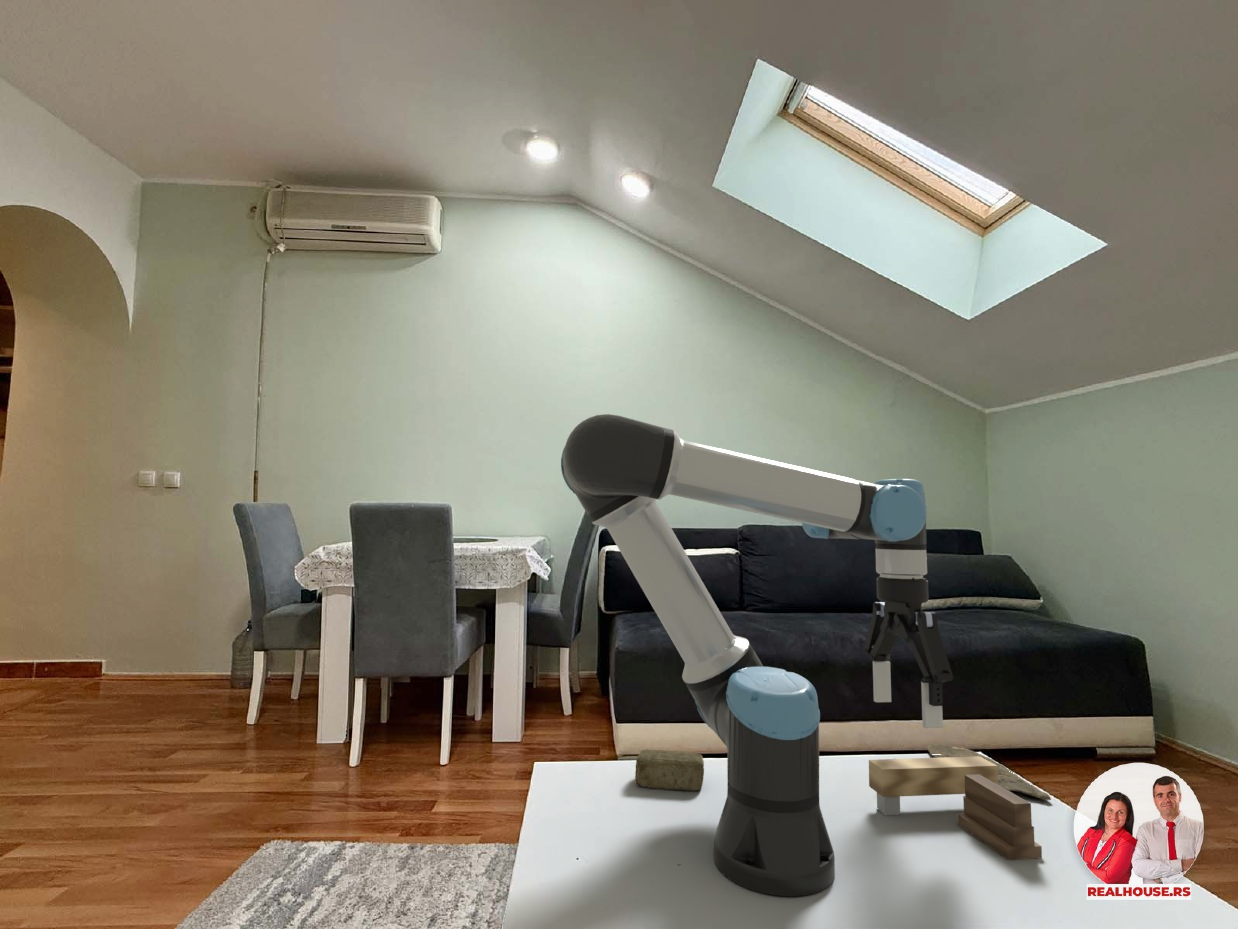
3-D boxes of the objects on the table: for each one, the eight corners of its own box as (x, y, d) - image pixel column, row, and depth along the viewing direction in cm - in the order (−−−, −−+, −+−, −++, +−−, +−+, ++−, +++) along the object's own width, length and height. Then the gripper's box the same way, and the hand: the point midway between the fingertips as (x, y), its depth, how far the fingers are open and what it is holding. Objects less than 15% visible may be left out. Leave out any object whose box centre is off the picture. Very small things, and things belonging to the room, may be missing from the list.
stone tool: (1056, 807, 102) (967, 752, 127) (1055, 788, 102) (966, 737, 127) (988, 806, 101) (912, 751, 126) (987, 788, 102) (912, 736, 127)
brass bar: (882, 797, 96) (882, 769, 96) (869, 786, 100) (868, 759, 100) (998, 792, 98) (997, 765, 99) (980, 782, 102) (979, 756, 103)
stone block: (704, 794, 103) (704, 762, 104) (633, 790, 105) (634, 758, 105) (703, 780, 109) (703, 750, 110) (636, 776, 110) (636, 746, 111)
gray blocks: (885, 815, 97) (885, 794, 97) (877, 808, 99) (876, 788, 99) (990, 811, 99) (989, 790, 99) (980, 804, 101) (979, 784, 101)
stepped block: (1007, 860, 84) (1005, 804, 85) (957, 824, 94) (956, 775, 95) (1041, 858, 85) (1039, 803, 85) (989, 823, 95) (987, 774, 95)
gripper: (976, 583, 90) (983, 739, 88) (881, 570, 114) (885, 692, 112) (927, 583, 89) (933, 741, 87) (842, 570, 113) (844, 693, 111)
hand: (906, 713), depth 100 cm, fingers open, 13 cm apart
